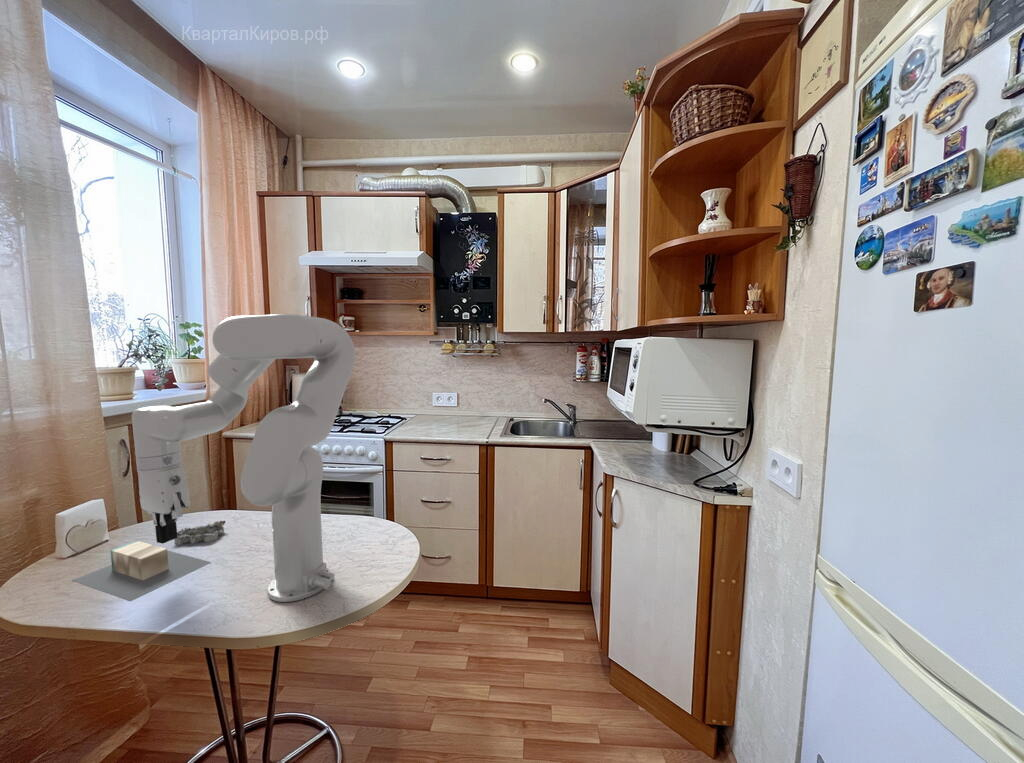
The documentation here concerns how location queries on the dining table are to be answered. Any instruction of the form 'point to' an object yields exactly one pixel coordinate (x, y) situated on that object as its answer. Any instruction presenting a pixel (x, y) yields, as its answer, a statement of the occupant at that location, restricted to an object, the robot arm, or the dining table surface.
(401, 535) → the dining table surface
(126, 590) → the rubber mat
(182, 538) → the grey jagged stone ring
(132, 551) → the birch block
